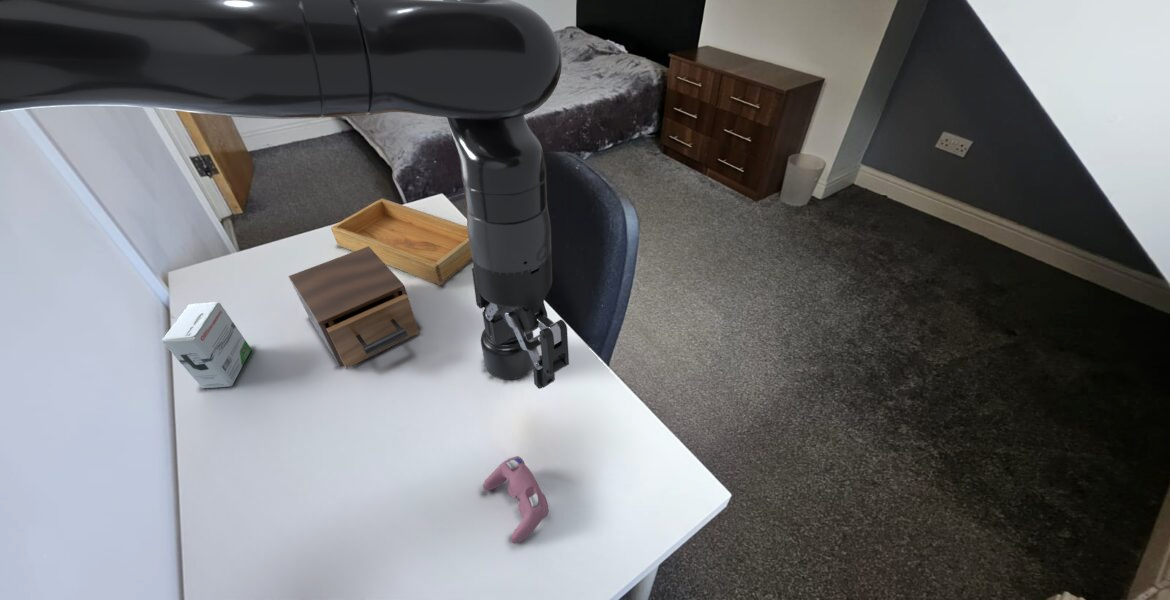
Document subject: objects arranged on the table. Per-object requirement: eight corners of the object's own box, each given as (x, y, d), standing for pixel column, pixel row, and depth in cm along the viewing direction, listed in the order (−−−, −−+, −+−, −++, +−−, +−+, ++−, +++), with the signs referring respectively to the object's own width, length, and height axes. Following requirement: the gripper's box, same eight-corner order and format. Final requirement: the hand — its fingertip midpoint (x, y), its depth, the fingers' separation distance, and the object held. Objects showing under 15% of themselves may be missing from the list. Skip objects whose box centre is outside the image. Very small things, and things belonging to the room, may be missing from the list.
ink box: (224, 351, 84) (188, 301, 76) (253, 349, 84) (221, 299, 76) (199, 390, 77) (158, 340, 70) (231, 387, 78) (193, 337, 70)
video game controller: (540, 537, 62) (559, 502, 60) (511, 549, 59) (530, 513, 56) (506, 478, 68) (522, 444, 66) (478, 486, 65) (494, 451, 62)
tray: (338, 246, 109) (329, 225, 105) (387, 216, 119) (381, 196, 115) (440, 288, 98) (435, 267, 94) (485, 252, 108) (482, 231, 104)
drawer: (431, 347, 84) (421, 311, 78) (357, 385, 78) (339, 349, 72) (386, 293, 95) (373, 258, 89) (317, 323, 88) (299, 287, 82)
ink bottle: (543, 348, 86) (540, 299, 78) (528, 385, 79) (523, 336, 71) (493, 339, 87) (485, 289, 79) (474, 374, 81) (464, 325, 73)
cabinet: (417, 328, 89) (404, 285, 82) (339, 366, 82) (317, 322, 75) (383, 287, 98) (368, 246, 91) (309, 319, 90) (287, 276, 83)
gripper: (438, 227, 46) (463, 341, 57) (521, 301, 38) (531, 418, 49) (503, 203, 50) (514, 315, 61) (591, 266, 42) (586, 382, 53)
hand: (522, 361), depth 55 cm, fingers open, 8 cm apart
